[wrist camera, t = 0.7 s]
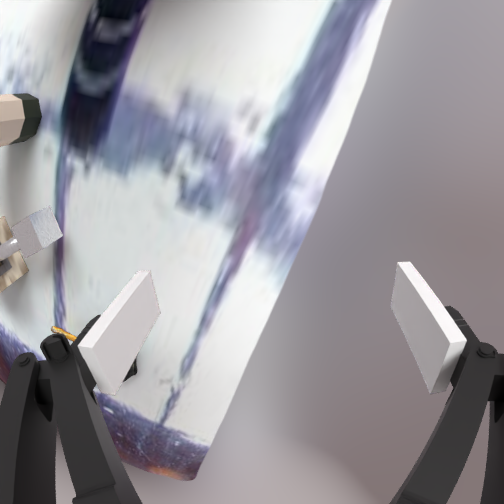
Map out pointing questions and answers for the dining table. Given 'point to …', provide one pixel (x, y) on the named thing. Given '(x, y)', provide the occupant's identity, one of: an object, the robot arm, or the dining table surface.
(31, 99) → the wine bottle
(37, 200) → the dining table surface
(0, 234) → the eye block
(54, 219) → the pull pin
